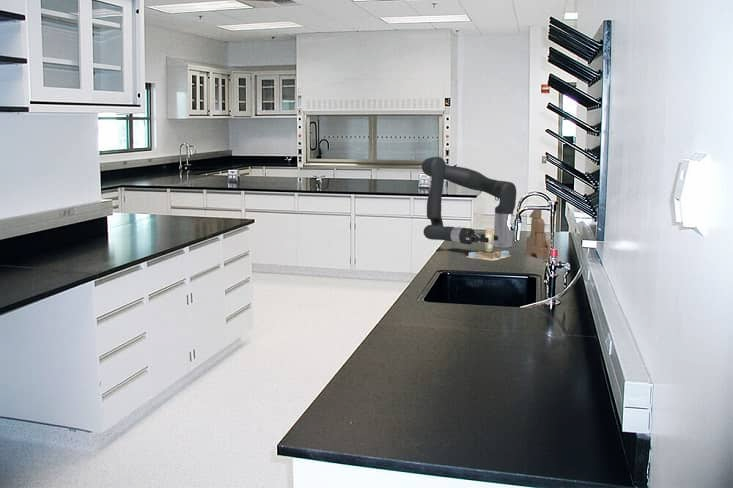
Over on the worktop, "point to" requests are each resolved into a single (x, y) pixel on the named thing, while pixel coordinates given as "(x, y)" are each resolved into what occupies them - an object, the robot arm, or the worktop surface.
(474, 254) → the tail piece
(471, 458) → the worktop surface
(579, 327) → the worktop surface
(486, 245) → the fuselage dowel
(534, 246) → the wooden toy
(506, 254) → the wing piece
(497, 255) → the jig
